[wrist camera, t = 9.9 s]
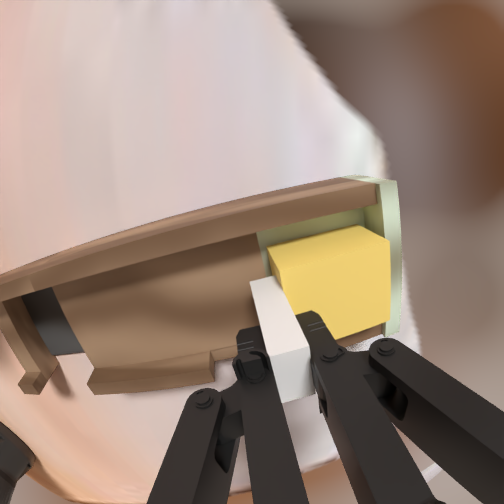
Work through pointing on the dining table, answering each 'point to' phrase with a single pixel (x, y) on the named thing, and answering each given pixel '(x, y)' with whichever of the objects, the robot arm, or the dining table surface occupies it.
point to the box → (179, 286)
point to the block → (336, 277)
